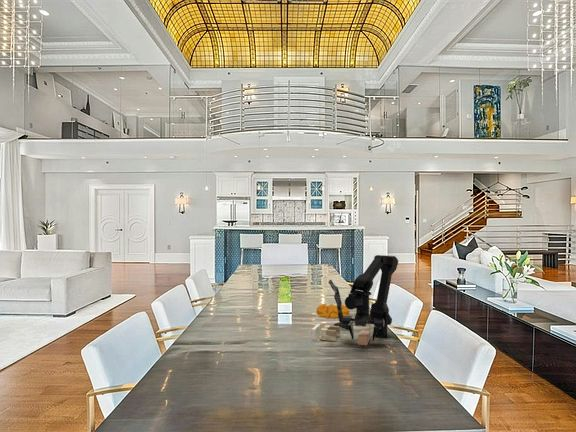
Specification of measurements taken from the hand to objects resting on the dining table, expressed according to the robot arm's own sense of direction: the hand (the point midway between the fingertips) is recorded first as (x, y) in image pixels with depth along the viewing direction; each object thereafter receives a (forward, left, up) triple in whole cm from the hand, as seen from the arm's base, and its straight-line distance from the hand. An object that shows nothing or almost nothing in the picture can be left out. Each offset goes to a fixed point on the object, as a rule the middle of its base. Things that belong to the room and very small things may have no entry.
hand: (362, 340), depth 188 cm
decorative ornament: (-53, -27, -2) cm, 60 cm away
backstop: (-3, -23, -2) cm, 23 cm away
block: (-3, -16, -2) cm, 16 cm away
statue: (-23, -15, -2) cm, 28 cm away
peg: (-3, 0, -2) cm, 3 cm away
